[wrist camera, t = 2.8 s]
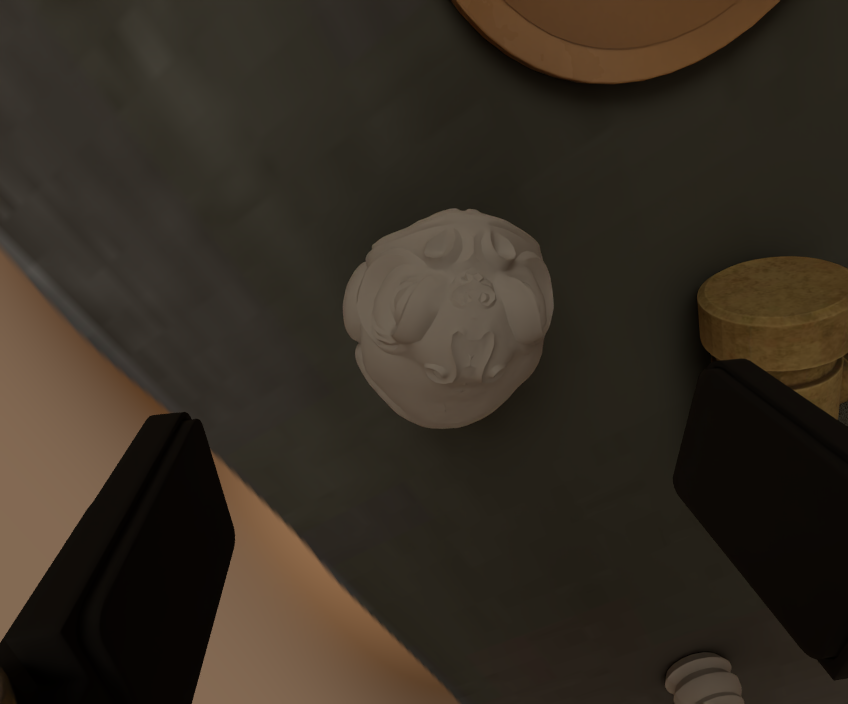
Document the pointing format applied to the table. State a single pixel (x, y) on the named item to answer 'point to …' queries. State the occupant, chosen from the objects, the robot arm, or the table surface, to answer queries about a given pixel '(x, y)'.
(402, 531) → the table surface
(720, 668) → the rook chess piece
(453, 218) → the grey sculpted head
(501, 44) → the coaster
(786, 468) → the robot arm
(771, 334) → the gavel
